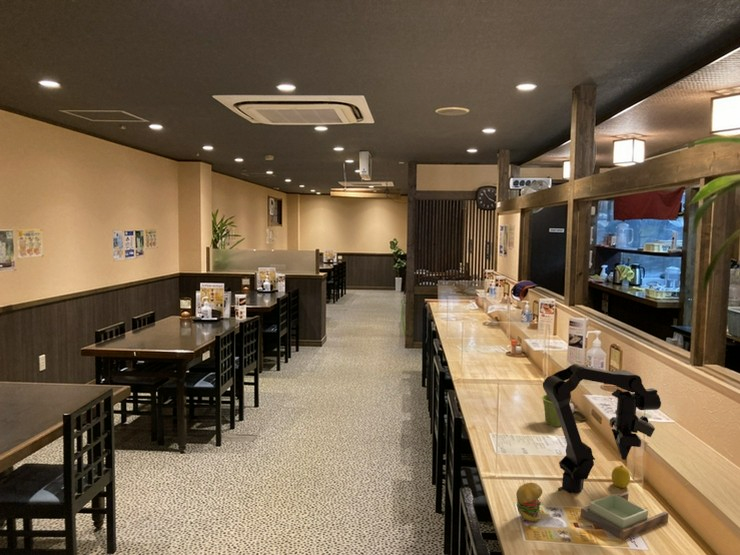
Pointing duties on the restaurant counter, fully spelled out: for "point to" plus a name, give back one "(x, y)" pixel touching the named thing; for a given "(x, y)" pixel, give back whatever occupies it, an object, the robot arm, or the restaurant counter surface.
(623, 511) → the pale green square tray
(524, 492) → the hamburger
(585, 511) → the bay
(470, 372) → the restaurant counter surface
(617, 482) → the lemon
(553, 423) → the plant pot
